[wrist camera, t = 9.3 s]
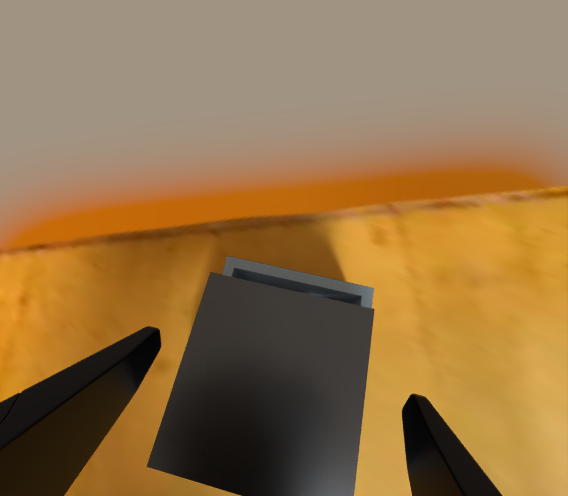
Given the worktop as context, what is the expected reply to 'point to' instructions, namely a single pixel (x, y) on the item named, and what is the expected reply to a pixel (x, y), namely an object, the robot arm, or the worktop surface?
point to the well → (299, 281)
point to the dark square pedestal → (268, 393)
